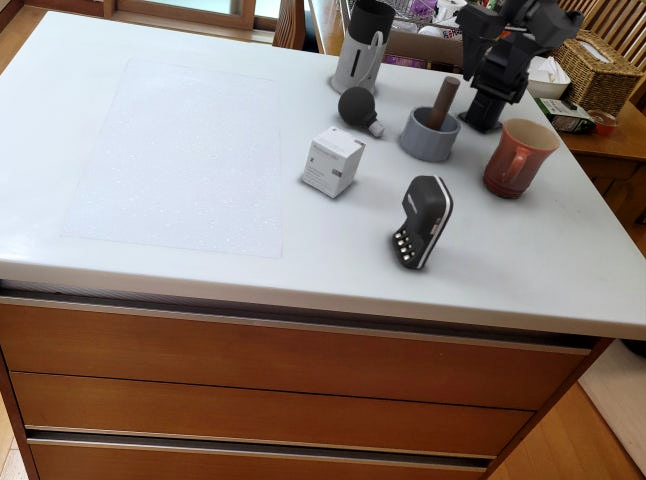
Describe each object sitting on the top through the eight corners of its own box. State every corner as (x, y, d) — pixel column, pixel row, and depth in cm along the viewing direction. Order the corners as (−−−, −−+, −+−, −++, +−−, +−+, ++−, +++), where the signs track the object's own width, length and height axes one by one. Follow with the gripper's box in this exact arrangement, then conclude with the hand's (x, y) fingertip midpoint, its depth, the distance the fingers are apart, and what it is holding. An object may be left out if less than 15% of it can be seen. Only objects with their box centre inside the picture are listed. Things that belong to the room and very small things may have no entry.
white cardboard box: (300, 181, 83) (310, 139, 77) (321, 165, 87) (332, 124, 81) (334, 199, 81) (347, 158, 76) (353, 182, 85) (367, 141, 79)
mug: (482, 164, 95) (510, 111, 87) (531, 185, 93) (563, 133, 85) (464, 198, 87) (493, 142, 79) (517, 222, 85) (552, 167, 77)
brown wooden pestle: (434, 139, 97) (462, 75, 88) (440, 153, 94) (469, 88, 85) (411, 136, 96) (436, 71, 88) (415, 150, 93) (442, 84, 85)
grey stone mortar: (423, 129, 100) (434, 102, 96) (457, 155, 96) (471, 127, 92) (390, 139, 96) (400, 110, 92) (424, 166, 91) (437, 138, 87)
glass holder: (370, 78, 110) (394, 1, 100) (382, 116, 101) (410, 34, 90) (328, 72, 109) (348, -7, 98) (336, 109, 99) (359, 26, 89)
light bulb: (388, 125, 90) (348, 80, 91) (362, 151, 94) (324, 108, 95) (401, 118, 95) (363, 76, 96) (376, 144, 99) (340, 103, 100)
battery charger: (384, 234, 77) (411, 167, 69) (409, 235, 78) (439, 169, 70) (397, 270, 73) (428, 203, 64) (423, 271, 73) (458, 205, 65)
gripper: (539, -15, 67) (479, 104, 77) (624, 1, 76) (561, 106, 86) (478, -43, 74) (430, 70, 84) (563, -25, 83) (511, 75, 93)
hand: (486, 81), depth 86 cm, fingers open, 9 cm apart
